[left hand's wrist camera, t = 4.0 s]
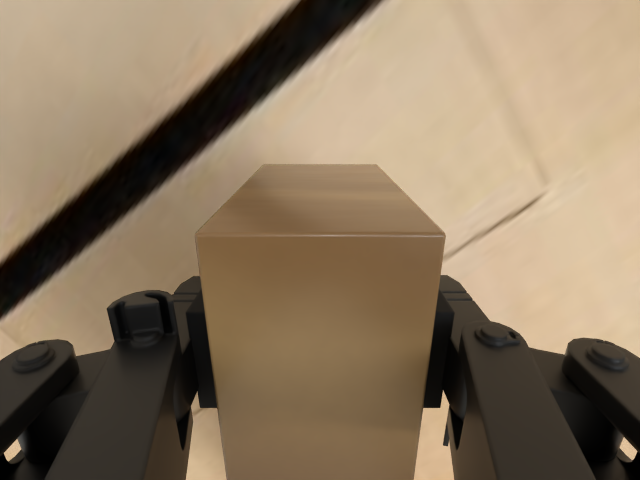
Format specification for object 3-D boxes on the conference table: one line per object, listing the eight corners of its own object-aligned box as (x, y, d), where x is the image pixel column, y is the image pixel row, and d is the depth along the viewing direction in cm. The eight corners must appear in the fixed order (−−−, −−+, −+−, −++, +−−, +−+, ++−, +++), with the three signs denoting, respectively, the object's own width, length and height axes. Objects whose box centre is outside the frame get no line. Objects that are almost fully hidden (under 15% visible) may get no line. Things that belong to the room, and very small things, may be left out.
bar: (262, 164, 14) (192, 233, 6) (377, 164, 14) (447, 233, 6) (283, 537, 21) (263, 767, 14) (356, 537, 21) (376, 767, 14)
